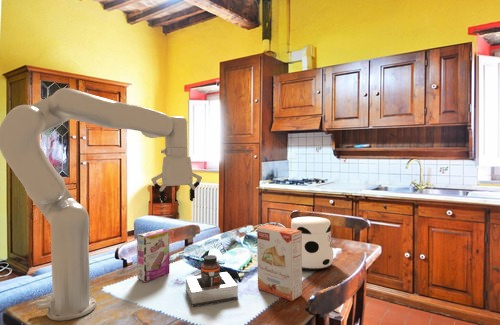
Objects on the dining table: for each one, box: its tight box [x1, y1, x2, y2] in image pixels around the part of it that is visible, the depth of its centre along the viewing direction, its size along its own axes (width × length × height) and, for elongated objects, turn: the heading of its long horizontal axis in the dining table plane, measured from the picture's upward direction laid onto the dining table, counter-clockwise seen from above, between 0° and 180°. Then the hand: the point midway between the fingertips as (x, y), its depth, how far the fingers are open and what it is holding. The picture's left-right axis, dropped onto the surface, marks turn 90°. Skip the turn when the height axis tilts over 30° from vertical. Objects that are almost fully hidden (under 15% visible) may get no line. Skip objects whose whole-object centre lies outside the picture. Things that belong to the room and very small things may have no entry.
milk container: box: [290, 216, 334, 271], centre depth 130 cm, size 17×17×18 cm
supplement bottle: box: [200, 254, 221, 288], centre depth 104 cm, size 6×6×11 cm
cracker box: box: [256, 224, 303, 302], centre depth 105 cm, size 14×6×21 cm, turn 47°
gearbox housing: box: [185, 271, 239, 308], centre depth 104 cm, size 14×12×4 cm
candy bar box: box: [136, 228, 170, 283], centre depth 120 cm, size 11×5×16 cm, turn 144°
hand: (177, 201), depth 115 cm, fingers open, 9 cm apart
